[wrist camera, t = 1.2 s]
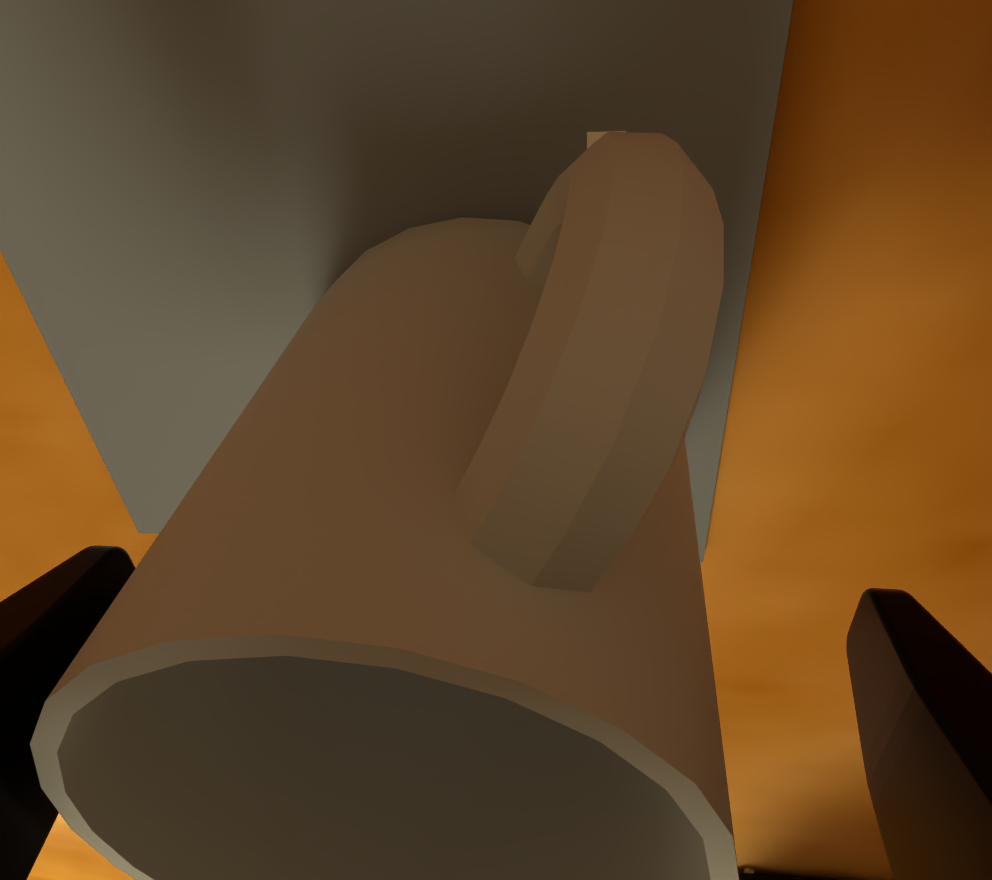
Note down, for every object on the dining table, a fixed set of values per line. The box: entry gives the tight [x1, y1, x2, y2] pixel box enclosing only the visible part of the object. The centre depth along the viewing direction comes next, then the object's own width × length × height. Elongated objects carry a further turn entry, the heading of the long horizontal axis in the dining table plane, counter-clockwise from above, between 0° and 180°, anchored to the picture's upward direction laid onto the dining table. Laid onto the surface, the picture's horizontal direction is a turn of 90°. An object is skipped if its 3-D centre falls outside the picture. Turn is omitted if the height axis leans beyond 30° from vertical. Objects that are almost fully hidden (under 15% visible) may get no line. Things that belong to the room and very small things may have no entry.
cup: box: [30, 132, 739, 880], centre depth 10 cm, size 7×10×9 cm
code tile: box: [0, 0, 794, 562], centre depth 14 cm, size 12×14×1 cm
